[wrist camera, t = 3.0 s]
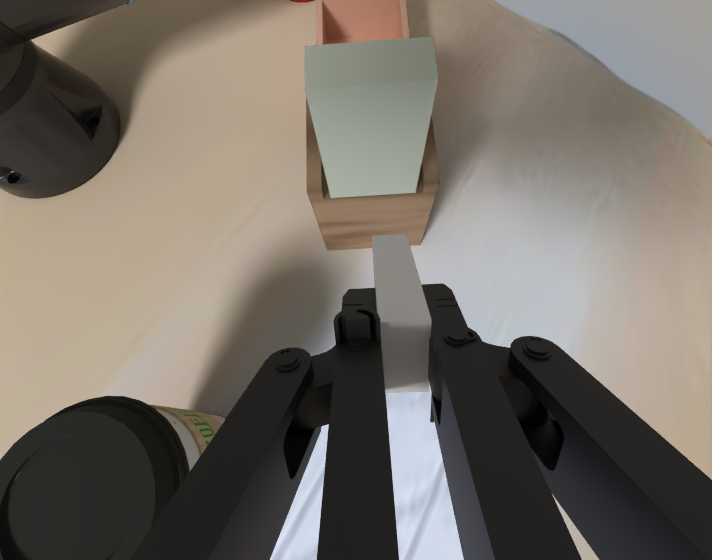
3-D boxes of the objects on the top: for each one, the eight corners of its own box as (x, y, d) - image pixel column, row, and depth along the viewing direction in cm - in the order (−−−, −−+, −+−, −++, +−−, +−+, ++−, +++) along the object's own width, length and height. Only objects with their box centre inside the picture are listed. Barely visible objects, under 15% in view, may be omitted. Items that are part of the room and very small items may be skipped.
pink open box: (408, 105, 40) (412, 67, 35) (324, 112, 41) (317, 75, 36) (401, 33, 43) (404, -11, 38) (322, 39, 43) (316, -4, 39)
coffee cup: (239, 373, 33) (134, 361, 19) (283, 482, 30) (200, 567, 16) (136, 425, 32) (-56, 456, 18) (172, 543, 30) (-21, 689, 15)
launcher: (420, 244, 36) (439, 183, 25) (327, 250, 36) (306, 191, 25) (406, 104, 40) (417, 1, 30) (324, 110, 41) (305, 10, 30)
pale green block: (415, 192, 26) (438, 79, 17) (330, 198, 26) (304, 89, 17) (412, 162, 27) (433, 35, 17) (329, 167, 27) (304, 46, 17)
